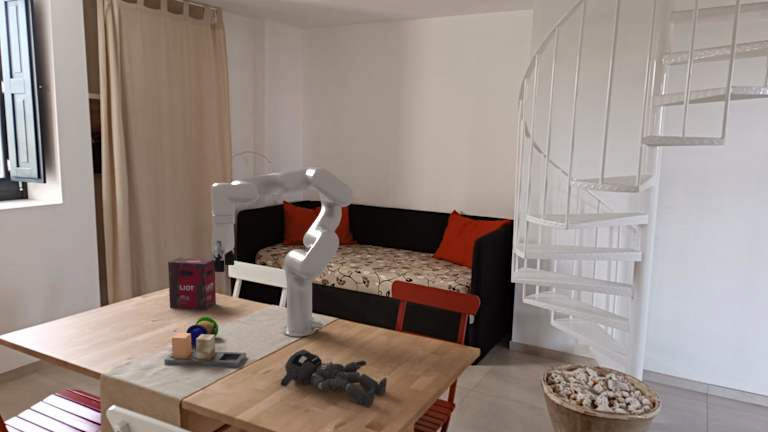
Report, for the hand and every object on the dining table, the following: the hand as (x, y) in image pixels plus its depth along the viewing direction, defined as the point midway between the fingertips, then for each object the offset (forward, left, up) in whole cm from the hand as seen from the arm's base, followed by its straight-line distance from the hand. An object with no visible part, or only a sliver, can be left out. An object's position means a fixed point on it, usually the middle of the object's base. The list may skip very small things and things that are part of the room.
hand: (224, 268), depth 189 cm
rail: (+2, +15, -28) cm, 32 cm away
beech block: (+2, +15, -27) cm, 31 cm away
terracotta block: (+9, +15, -27) cm, 32 cm away
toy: (+9, -2, -29) cm, 30 cm away
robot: (-42, +28, -29) cm, 58 cm away
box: (+30, -43, -29) cm, 60 cm away
